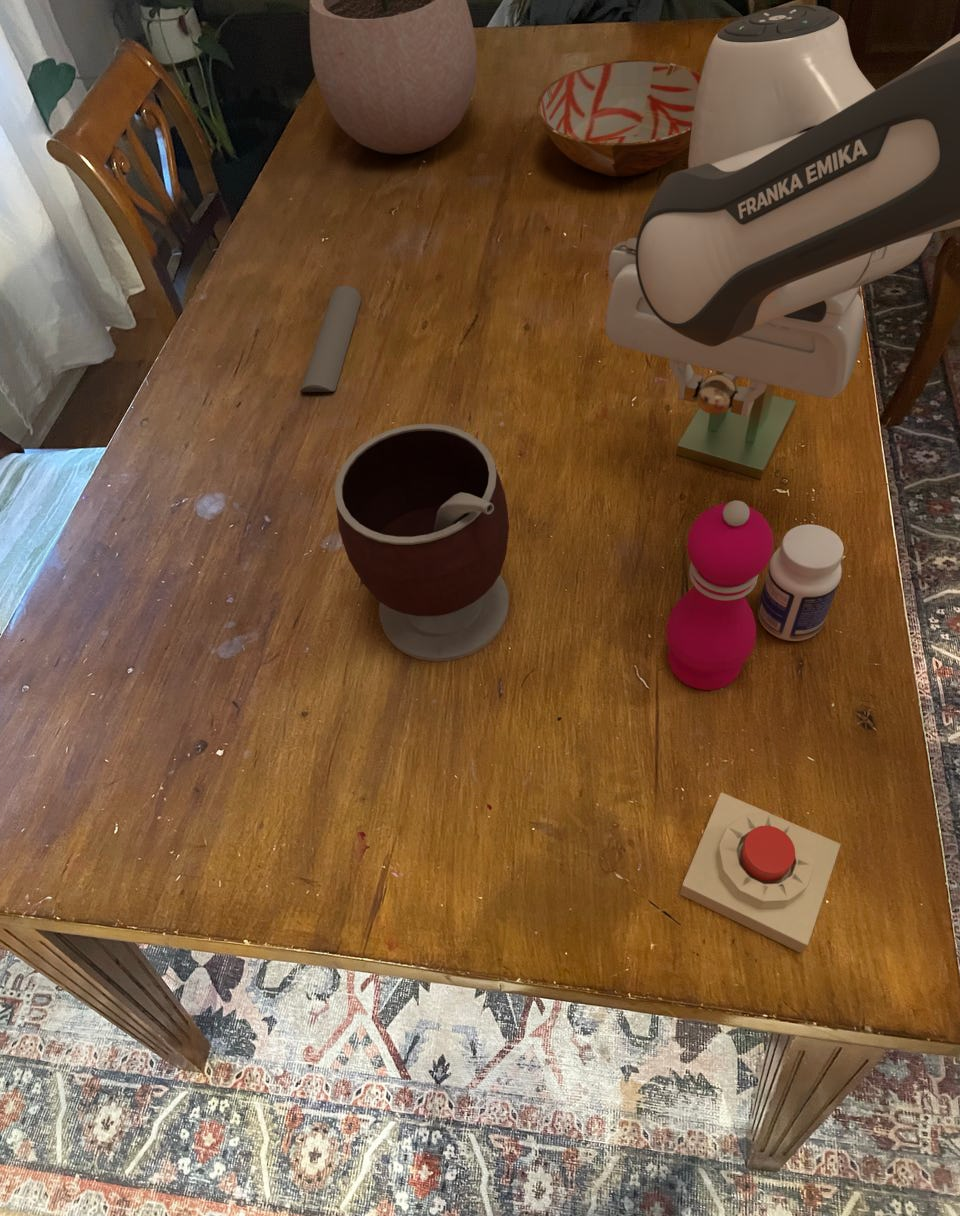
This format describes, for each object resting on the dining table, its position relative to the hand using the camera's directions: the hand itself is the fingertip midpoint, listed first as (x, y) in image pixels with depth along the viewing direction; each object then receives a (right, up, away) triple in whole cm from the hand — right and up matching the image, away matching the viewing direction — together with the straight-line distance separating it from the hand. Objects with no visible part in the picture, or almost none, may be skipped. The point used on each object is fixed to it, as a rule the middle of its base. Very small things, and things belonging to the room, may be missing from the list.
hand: (715, 403), depth 75 cm
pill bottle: (+7, -19, +1) cm, 20 cm away
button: (0, -36, -14) cm, 39 cm away
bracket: (+6, +1, +15) cm, 17 cm away
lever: (+3, +2, +4) cm, 5 cm away
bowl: (+1, +48, +50) cm, 70 cm away
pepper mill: (-1, -23, 0) cm, 23 cm away
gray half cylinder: (-39, +15, +31) cm, 52 cm away
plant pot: (-32, +56, +60) cm, 88 cm away
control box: (0, -38, -12) cm, 40 cm away
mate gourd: (-23, -18, +5) cm, 30 cm away
